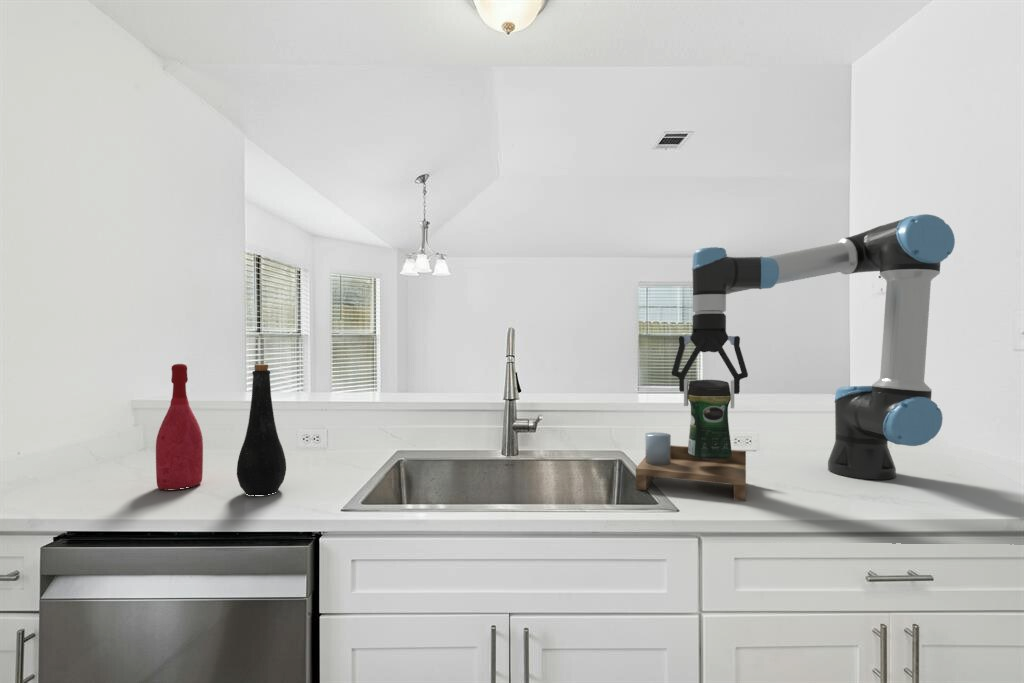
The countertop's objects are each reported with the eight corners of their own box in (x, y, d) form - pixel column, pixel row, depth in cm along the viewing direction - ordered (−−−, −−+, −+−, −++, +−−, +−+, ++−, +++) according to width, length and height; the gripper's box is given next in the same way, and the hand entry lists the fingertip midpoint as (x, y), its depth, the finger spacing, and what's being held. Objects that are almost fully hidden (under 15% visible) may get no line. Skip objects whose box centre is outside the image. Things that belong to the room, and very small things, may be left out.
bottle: (296, 488, 129) (295, 363, 129) (262, 501, 119) (261, 366, 119) (261, 484, 133) (260, 363, 133) (225, 496, 123) (225, 365, 123)
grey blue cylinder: (672, 461, 135) (672, 433, 135) (668, 466, 130) (668, 437, 130) (647, 459, 138) (647, 431, 138) (643, 464, 132) (643, 435, 132)
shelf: (745, 483, 133) (745, 450, 133) (745, 501, 118) (745, 464, 118) (647, 473, 143) (647, 443, 143) (635, 489, 128) (635, 455, 128)
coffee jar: (724, 453, 132) (724, 378, 132) (735, 461, 125) (735, 381, 124) (684, 453, 133) (684, 378, 133) (692, 460, 125) (692, 380, 125)
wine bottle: (212, 483, 134) (211, 363, 134) (172, 493, 125) (172, 365, 125) (186, 479, 138) (185, 362, 138) (146, 489, 129) (145, 364, 129)
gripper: (760, 313, 128) (760, 407, 128) (663, 314, 137) (663, 402, 137) (760, 311, 121) (760, 411, 121) (658, 313, 130) (658, 406, 130)
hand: (708, 406), depth 129 cm, fingers closed on coffee jar, 10 cm apart
